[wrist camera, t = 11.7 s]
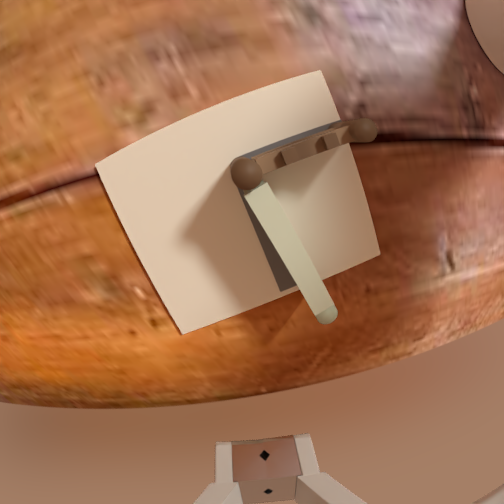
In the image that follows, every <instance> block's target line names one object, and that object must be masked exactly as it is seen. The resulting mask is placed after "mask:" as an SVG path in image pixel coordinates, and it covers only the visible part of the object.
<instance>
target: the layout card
mask: <svg viewBox="0 0 504 504" xmlns="http://www.w3.org/2000/svg"><path fill="white" fill-rule="evenodd" d="M337 122H342V121H341V120H340V117H339V114H338V112H337V109H336V106H335V104H334V101H333V99H332V96H331V94H330V91H329V89H328V86H327V84H326V82H325V79H324V77H323V74H322V72H321V70H318V71H314V72H311V73H307V74H304V75H300V76H297V77H294V78H290V79H287V80H284V81H281V82H278V83H275V84H272V85H269V86H266V87H263V88H260V89H257V90H254V91H251V92H248V93H246V94H243V95H240V96H238V97H235V98H232V99H230V100H227V101H225V102H222V103H220V104H217V105H215V106H212V107H210V108H207V109H205V110H202V111H200V112H198V113H195V114H193V115H191V116H189V117H186V118H184V119H182V120H180V121H177V122H175V123H173V124H171V125H169V126H167V127H165V128H162V129H160V130H158V131H156V132H154V133H152V134H150V135H148V136H146V137H144V138H142V139H140V140H138V141H136V142H134V143H133V144H131V145H129V146H127V147H125V148H123V149H121V150H119V151H118V152H116V153H114V154H112V155H110V156H109V157H107V158H105V159H103V160H102V161H100V162H98V163H96V164H95V166H96V168H97V171H98V173H99V175H100V177H101V180H102V182H103V184H104V186H105V189H106V191H107V193H108V195H109V197H110V200H111V202H112V204H113V206H114V208H115V210H116V212H117V215H118V217H119V219H120V221H121V223H122V225H123V227H124V229H125V231H126V233H127V235H128V237H129V239H130V241H131V243H132V245H133V247H134V249H135V251H136V253H137V255H138V257H139V258H140V260H141V262H142V264H143V266H144V268H145V270H146V272H147V273H148V275H149V277H150V279H151V281H152V283H153V284H154V286H155V288H156V290H157V292H158V293H159V295H160V297H161V299H162V300H163V302H164V304H165V306H166V307H167V309H168V311H169V313H170V314H171V316H172V318H173V319H174V321H175V323H176V324H177V326H178V328H179V329H180V331H181V333H182V334H185V333H188V332H191V331H194V330H196V329H199V328H202V327H205V326H207V325H210V324H213V323H216V322H218V321H221V320H224V319H226V318H229V317H231V316H234V315H237V314H239V313H242V312H245V311H247V310H250V309H252V308H255V307H257V306H260V305H263V304H265V303H268V302H270V301H273V300H275V299H278V298H280V297H283V296H285V295H287V294H290V293H292V292H295V291H297V290H300V289H299V287H298V286H297V284H296V282H295V281H294V279H293V277H292V275H291V274H290V272H289V270H288V269H287V267H286V265H285V264H284V262H283V260H282V259H281V257H280V255H279V253H278V252H277V250H276V248H275V247H274V245H273V243H272V242H271V240H270V238H269V237H268V235H267V233H266V232H265V230H264V228H263V227H262V225H261V223H260V222H259V220H258V218H257V217H256V215H255V213H254V212H253V210H252V208H251V207H250V205H249V204H248V202H247V200H246V199H245V197H244V191H243V190H242V189H240V188H238V187H237V186H236V185H235V184H234V182H233V180H232V177H231V172H230V164H231V162H232V161H233V159H235V158H236V157H240V156H243V157H246V158H249V159H251V157H254V156H256V155H259V154H261V153H264V152H266V151H269V150H272V149H274V148H277V147H280V146H282V145H285V144H288V143H290V142H293V141H296V140H299V139H301V138H304V137H307V136H310V135H313V134H316V133H319V132H322V131H325V130H327V129H328V128H329V126H330V125H331V124H333V123H337ZM251 160H252V159H251ZM262 180H263V181H264V182H267V183H268V185H269V187H270V188H271V190H272V192H273V193H274V195H275V197H276V199H277V200H278V202H279V204H280V206H281V207H282V209H283V211H284V213H285V214H286V216H287V218H288V220H289V221H290V223H291V225H292V227H293V229H294V230H295V232H296V234H297V236H298V238H299V239H300V241H301V243H302V245H303V247H304V248H305V250H306V252H307V254H308V256H309V257H310V259H311V261H312V263H313V265H314V267H315V269H316V270H317V272H318V274H319V276H320V278H321V280H324V279H326V278H328V277H331V276H333V275H335V274H338V273H340V272H342V271H345V270H347V269H349V268H351V267H354V266H356V265H358V264H360V263H363V262H365V261H367V260H369V259H372V258H374V257H376V256H378V255H381V254H380V249H379V245H378V241H377V237H376V233H375V229H374V225H373V221H372V218H371V214H370V210H369V206H368V203H367V199H366V196H365V192H364V189H363V186H362V182H361V179H360V176H359V173H358V169H357V166H356V163H355V160H354V157H353V154H352V151H351V148H350V145H349V143H347V144H344V145H341V146H338V147H335V148H332V149H330V150H327V151H324V152H321V153H318V154H316V155H313V156H310V157H307V158H305V159H302V160H299V161H297V162H294V163H291V164H289V165H286V166H284V167H281V168H278V169H276V170H273V171H271V172H268V173H266V174H263V177H262Z"/></svg>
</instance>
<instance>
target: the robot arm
mask: <svg viewBox="0 0 504 504" xmlns="http://www.w3.org/2000/svg"><path fill="white" fill-rule="evenodd" d="M465 4H466V11H467V15H468V18H469V21H470V24H471V27H472V29H473V31H474V34H475V36H476V38H477V40H478V42H479V44H480V45H481V47H482V49H483V50H484V52H485V53H486V55H487V56H488V58H489V59H490V60H491V62H492V63H493V64H494V65H495V66H496V67H497V68H498V69H499V70H500V71H501V72H502V73H503V74H504V0H465ZM293 499H295V501H296V502H297V503H298V504H367V503H366V502H364V501H363V500H361V499H360V498H359V497H357V496H356V495H354V494H353V493H352V492H351V491H349V490H348V489H346V488H345V487H344V486H342V485H341V484H340V483H338V482H337V481H336V480H335V479H333V478H332V477H331V476H329V475H328V474H327V473H325V472H320V471H319V467H318V463H317V459H316V456H315V452H314V448H313V444H312V441H311V437H310V435H309V434H308V433H305V434H300V435H290V436H282V437H275V438H266V439H261V440H246V441H222V442H216V445H215V483H210V484H209V485H208V486H207V487H206V489H205V490H204V491H203V492H202V493H201V495H200V496H199V497H198V498H197V499H196V501H195V502H194V503H193V504H253V503H254V504H255V503H264V502H274V501H285V500H293ZM471 504H504V484H503V485H501V486H499V487H498V488H496V489H495V490H493V491H492V492H490V493H488V494H487V495H485V496H484V497H482V498H480V499H478V500H477V501H475V502H473V503H471Z"/></svg>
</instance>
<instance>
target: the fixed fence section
mask: <svg viewBox="0 0 504 504" xmlns="http://www.w3.org/2000/svg"><path fill="white" fill-rule="evenodd" d="M376 136H377V127H376V125H375V123H374V122H373V121H372V120H370V119H368V118H361V119H355V120H349V121H343V122H337V123H333V124H331V125H330V126H329V128H328V129H327V130H325V131H322V132H319V133H316V134H313V135H310V136H307V137H304V138H301V139H299V140H296V141H293V142H290V143H288V144H285V145H282V146H280V147H277V148H274V149H272V150H269V151H266V152H264V153H261V154H259V155H256V156H254V157H251V159H252V160H251V159H249V158H246V157H243V156H240V157H236V158H235V159H233V161H232V162H231V164H230V172H231V177H232V180H233V182H234V184H235V185H236V186H237V187H238V188H240V189H242V190H252V189H254V188H256V187H257V186H258V185H259V184H260V183H261V181H262V177H263V174H266V173H268V172H271V171H273V170H276V169H278V168H281V167H284V166H286V165H289V164H291V163H294V162H297V161H299V160H302V159H305V158H307V157H310V156H313V155H316V154H318V153H321V152H324V151H327V150H330V149H332V148H335V147H338V146H341V145H344V144H347V143H350V142H371V141H373V140H374V139H375V138H376Z"/></svg>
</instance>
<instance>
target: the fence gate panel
mask: <svg viewBox="0 0 504 504" xmlns="http://www.w3.org/2000/svg"><path fill="white" fill-rule="evenodd" d="M243 191H244V197H245V199H246V200H247V202H248V204H249V205H250V207H251V208H252V210H253V212H254V213H255V215H256V217H257V218H258V220H259V222H260V223H261V225H262V227H263V228H264V230H265V232H266V233H267V235H268V237H269V238H270V240H271V242H272V243H273V245H274V247H275V248H276V250H277V252H278V253H279V255H280V257H281V259H282V260H283V262H284V264H285V265H286V267H287V269H288V270H289V272H290V274H291V275H292V277H293V279H294V281H295V282H296V284H297V286H298V287H299V289H300V291H301V293H302V294H303V296H304V298H305V299H306V301H307V303H308V305H309V306H310V308H311V310H312V311H313V313H314V315H315V316H316V318H317V320H318V322H320V323H321V324H329V323H332V322H333V321H334V320H335V319H336V318H337V315H338V311H337V309H336V307H335V304H334V302H333V301H332V299H331V297H330V295H329V293H328V291H327V289H326V287H325V285H324V284H323V282H322V280H321V278H320V276H319V274H318V272H317V270H316V269H315V267H314V265H313V263H312V261H311V259H310V257H309V256H308V254H307V252H306V250H305V248H304V247H303V245H302V243H301V241H300V239H299V238H298V236H297V234H296V232H295V230H294V229H293V227H292V225H291V223H290V221H289V220H288V218H287V216H286V214H285V213H284V211H283V209H282V207H281V206H280V204H279V202H278V200H277V199H276V197H275V195H274V193H273V192H272V190H271V188H270V187H269V185H268V183H267V182H264V181H263V180H262V181H261V183H260V184H259V185H258V186H257V187H256V188H254V189H252V190H243Z"/></svg>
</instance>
